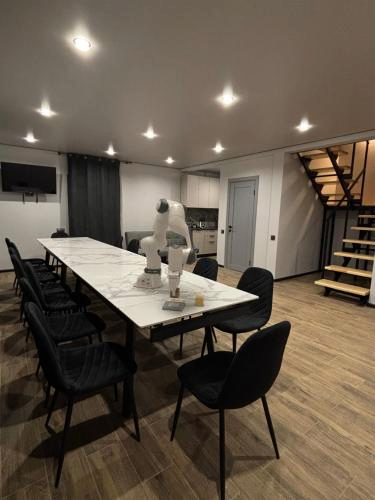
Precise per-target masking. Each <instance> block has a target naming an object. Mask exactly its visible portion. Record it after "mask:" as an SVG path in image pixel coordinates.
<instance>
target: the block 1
mask: <svg viewBox="0 0 375 500" xmlns="http://www.w3.org/2000/svg"><path fill="white" fill-rule="evenodd" d="M175 293H176V295H175V296H172V291H170V290H169V298H176V299H180V293H181V292H180V287H178V288H177V289H176V291H175Z"/></svg>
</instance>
